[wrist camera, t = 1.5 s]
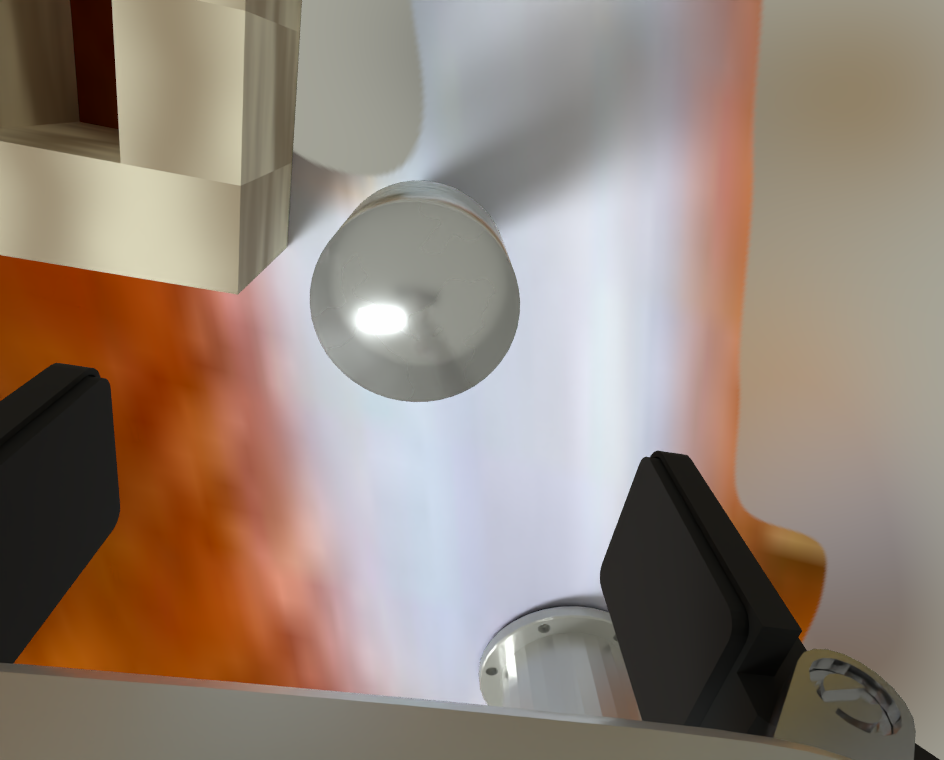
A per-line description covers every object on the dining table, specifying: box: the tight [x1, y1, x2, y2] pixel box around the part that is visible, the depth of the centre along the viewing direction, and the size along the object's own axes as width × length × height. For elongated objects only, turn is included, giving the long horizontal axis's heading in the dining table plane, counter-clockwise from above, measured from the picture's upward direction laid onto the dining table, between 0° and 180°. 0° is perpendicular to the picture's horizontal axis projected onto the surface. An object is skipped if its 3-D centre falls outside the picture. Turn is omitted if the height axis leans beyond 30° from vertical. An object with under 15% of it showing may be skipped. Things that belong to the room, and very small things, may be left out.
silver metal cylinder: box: [310, 181, 520, 402], centre depth 26 cm, size 7×7×12 cm
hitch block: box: [0, 0, 302, 294], centre depth 24 cm, size 14×14×8 cm
